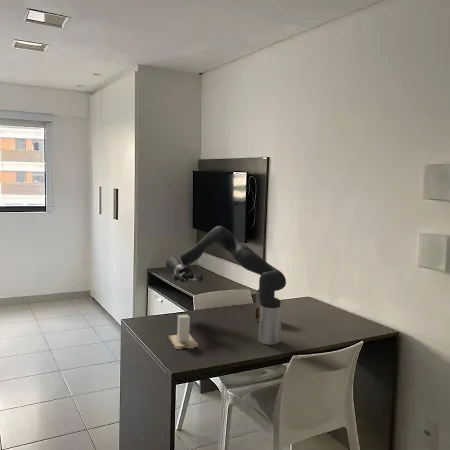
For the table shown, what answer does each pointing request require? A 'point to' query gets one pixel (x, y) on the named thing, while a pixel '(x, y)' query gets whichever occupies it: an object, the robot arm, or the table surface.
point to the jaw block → (183, 328)
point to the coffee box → (258, 306)
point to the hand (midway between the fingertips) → (192, 280)
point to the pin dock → (185, 344)
